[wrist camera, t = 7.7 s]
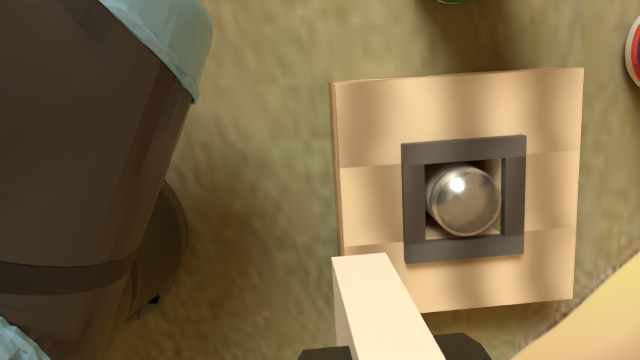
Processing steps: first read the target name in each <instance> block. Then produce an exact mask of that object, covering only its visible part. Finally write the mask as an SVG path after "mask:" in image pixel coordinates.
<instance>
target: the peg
mask: <svg viewBox="0 0 640 360" xmlns="http://www.w3.org/2000/svg"><path fill="white" fill-rule="evenodd" d="M424 172H425V210H426V211H427V212H428V213H429V214H430V215H431V216H432V217H433V218H434V219H435V220H436V221H437V222H438V223H439V224H440V225H441V226H442V227H443V228H444V229H446V230H447V231H448V232H450V233H452V234H455V235H459V236H470V235H475V234H478V233H480V232H482V231H484V230H485V229H487V228H488V227H489V226H490V225H491V224H492V223H493V222H494V221H495V219H496V218H497V216H498V214H499V211H500V208H501V192H500V189H499V186H498V184H497V183H496V181H495V180H494V179H493V178H492V177H491V176H490V175H488V174H487V173H485V172H483V171H481V170H479V169H477V168H475V167H474V166H472V165H470V164H468V163H466V162H464V161H459V162H446V163H433V164H424Z"/></svg>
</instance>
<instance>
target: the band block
mask: <svg viewBox="0 0 640 360" xmlns="http://www.w3.org/2000/svg"><path fill="white" fill-rule="evenodd" d="M583 76H584V68H567V67H546V68H531V69H516V70H501V71H486V72H471V73H456V74H441V75H426V76H412V77H397V78H382V79H367V80H352V81H337V82H328V85H329V102H330V119H331V136H332V153H333V171H334V188H335V205H336V222H337V239H338V256H339V257H340V256H352V255H363V254H375V253H386V254H387V256H388V258H389V260H390V261H391V263H392V265H393V267H394V269H395V270H396V272H397V274H398V276H399V277H400V279H401V281H402V283H403V284H404V286H405V288H406V290H407V292H408V293H409V295H410V297H411V299H412V300H413V302H414V304H415V306H416V308H417V309H418V311H419V313H426V312H437V311H447V310H458V309H468V308H479V307H490V306H500V305H511V304H521V303H532V302H542V301H553V300H563V299H573V279H574V259H575V239H576V218H577V198H578V178H579V157H580V137H581V117H582V97H583ZM472 160H475V168H477V169H479V170H481V171H483V172H485V173H487V174H488V175H490V176H491V177H492V178H493V179H494V180H495V181H496V183H497V184H498V186H499V189H500V192H501V208H500V211H499V214H498V216H497V218H496V219H495V221H494V222H493V223H492V224H491V225H490V226H489V227H488V228H487V229H485V230H484V231H482V232H480V233H478V234H475V235H470V236H459V235H455V234H452V233H450V232H448V231H447V230H446V229H444V228H443V227H442V226H441V225H440V224H439V223H438V222H437V221H436V220H435V219H434V218H425V172H424V164H433V163H446V162H459V161H472Z"/></svg>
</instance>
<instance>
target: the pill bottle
mask: <svg viewBox="0 0 640 360" xmlns="http://www.w3.org/2000/svg"><path fill="white" fill-rule="evenodd" d="M625 62H626V67H627V70H628V72H629V74H630V76H631V78H632V79H633V81H634V82H635V83H636V84H637V85H638V86H639V87H640V16H639V17H638V18H637V19H636V21H635V22H634V24H633V25H632V27H631V29H630V31H629V34H628V37H627V40H626V45H625Z"/></svg>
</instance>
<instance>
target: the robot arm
mask: <svg viewBox="0 0 640 360" xmlns="http://www.w3.org/2000/svg"><path fill="white" fill-rule="evenodd" d="M212 35H213V25H212V22H211V19H210V16H209V13H208V10H207V9H206V7H205V6H204V4H203V2H202V0H0V360H102V359H103V357H104V355H105V354H106V352H107V350H108V349H109V347H110V345H111V344H112V342H113V340H114V339H115V337H116V335H117V334H118V332H119V331H120V329H121V328H123V327H125V326H127V325H129V324H131V323H133V322H135V321H137V320H138V319H140V318H142V317H143V316H145V315H146V314H148V313H149V312H150V311H151V310H153V309H154V308H155V307H156V306H157V305H158V304H159V303H160V302H161V301H162V300H163V298H164V297H165V296H166V295H167V293H168V292H169V290H170V289H171V287H172V286H173V284H174V282H175V280H176V278H177V276H178V274H179V272H180V269H181V267H182V264H183V261H184V258H185V254H186V248H187V228H186V222H185V218H184V214H183V211H182V208H181V205H180V203H179V201H178V199H177V197H176V195H175V193H174V192H173V190H172V189H171V187H170V186H169V185H168V183H167V182H166V181H165V180H164V178H165V175H166V172H167V170H168V167H169V164H170V161H171V158H172V156H173V153H174V150H175V147H176V145H177V142H178V139H179V136H180V134H181V131H182V128H183V125H184V122H185V120H186V117H187V114H188V111H189V109H190V106H191V104H196V103H197V101H198V98H199V90H198V84H199V81H200V78H201V74H202V71H203V68H204V65H205V61H206V58H207V55H208V52H209V49H210V46H211V42H212ZM331 259H332V275H333V291H334V307H335V323H336V339H337V347H329V348H319V349H309V350H303V352H302V353H301V355H300V356H299V358H298V360H491V358H490V356H489V355H488V353H487V352H486V351H485V349H484V348H483V347H482V345H481V344H480V343H478V342H477V341H475V340H473V339H472V338H470V337H469V336H467V335H466V334H464V333H454V334H444V335H434V336H432V334H431V332H430V331H429V329H428V327H427V325H426V323H425V322H424V320H423V318H422V316H421V315H420V313H419V311H418V309H417V308H416V306H415V304H414V302H413V300H412V299H411V297H410V295H409V293H408V292H407V290H406V288H405V286H404V284H403V283H402V281H401V279H400V277H399V276H398V274H397V272H396V270H395V269H394V267H393V265H392V263H391V261H390V260H389V258H388V256H387V254H386V253H375V254H363V255H352V256H340V257H331Z"/></svg>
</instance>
